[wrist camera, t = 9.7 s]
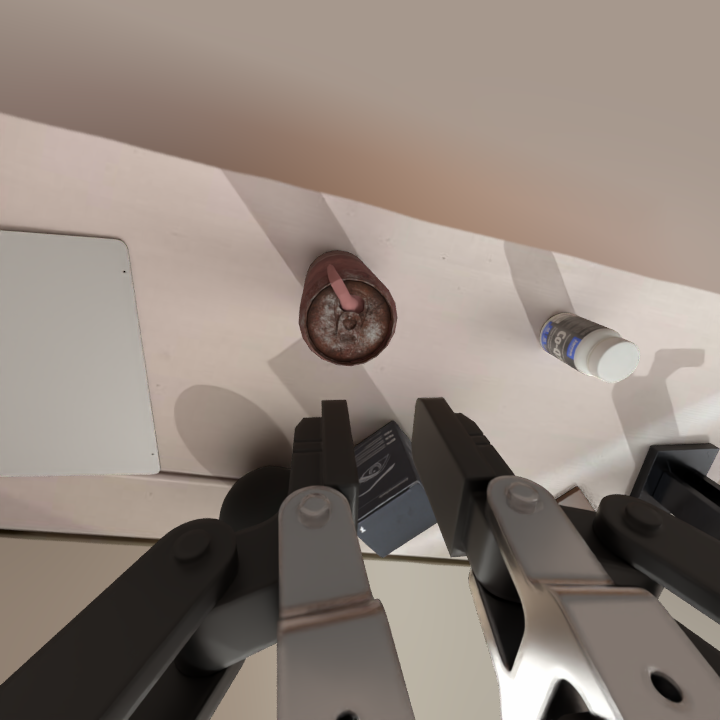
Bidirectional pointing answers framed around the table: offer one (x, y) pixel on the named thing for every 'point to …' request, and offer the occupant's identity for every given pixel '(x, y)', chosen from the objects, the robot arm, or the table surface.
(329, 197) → the table surface
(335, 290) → the can
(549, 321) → the pill bottle
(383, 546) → the box
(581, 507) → the coaster
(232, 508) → the decorative ball
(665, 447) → the bracket
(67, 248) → the clipboard
